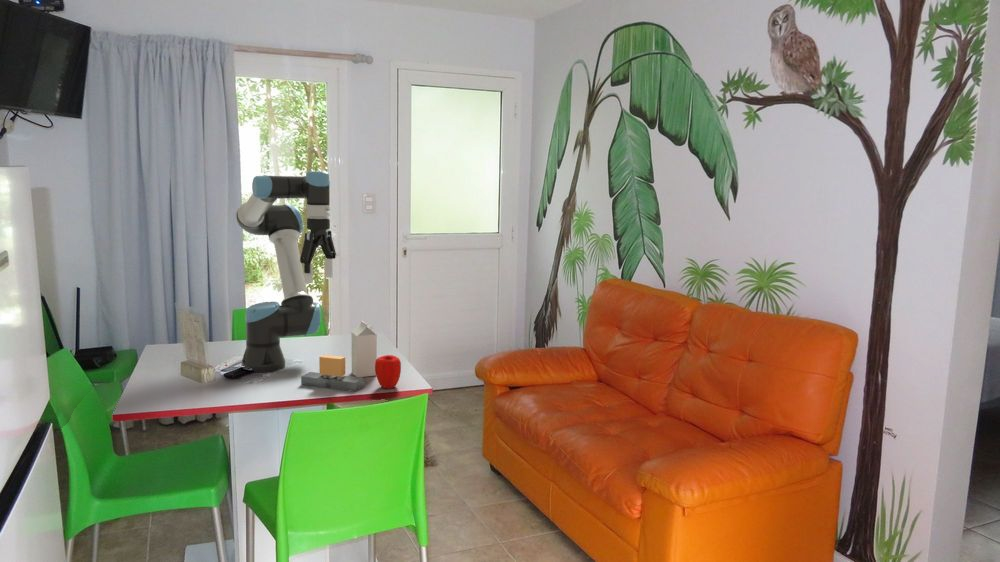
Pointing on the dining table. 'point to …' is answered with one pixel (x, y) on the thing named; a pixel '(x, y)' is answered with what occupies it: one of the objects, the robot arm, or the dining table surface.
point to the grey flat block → (332, 381)
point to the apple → (388, 370)
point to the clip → (332, 366)
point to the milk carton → (364, 350)
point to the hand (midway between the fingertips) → (318, 280)
